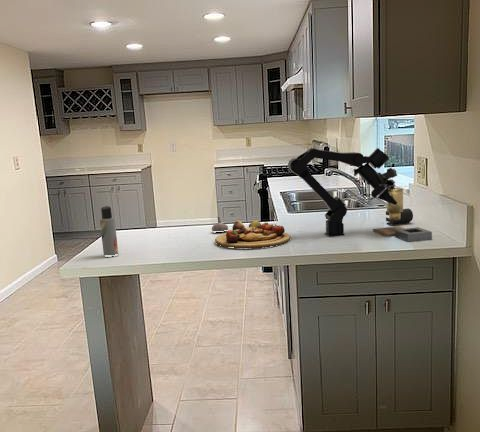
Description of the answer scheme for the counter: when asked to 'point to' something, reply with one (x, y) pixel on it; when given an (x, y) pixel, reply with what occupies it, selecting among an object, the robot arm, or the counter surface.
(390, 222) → the end cap
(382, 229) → the walnut board
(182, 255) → the counter surface
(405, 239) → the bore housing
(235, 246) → the wooden plate with food
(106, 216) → the lotion bottle
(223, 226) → the garlic bulb
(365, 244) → the counter surface
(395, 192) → the end plug
